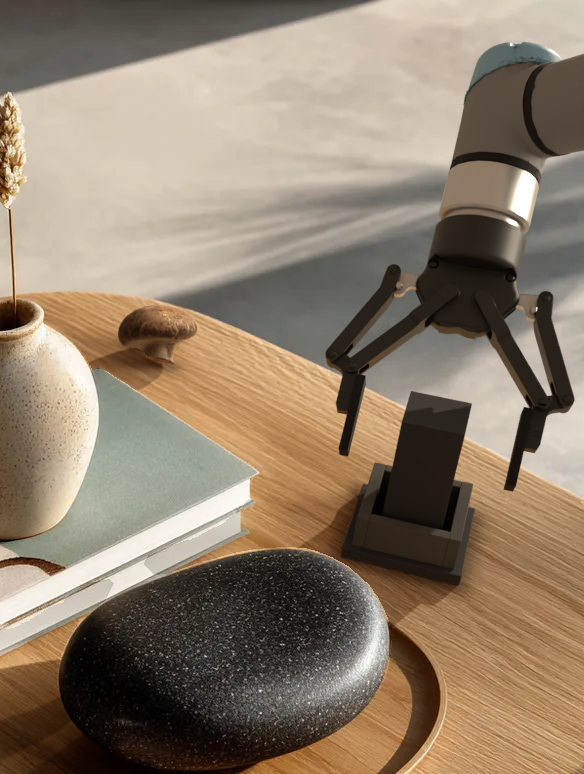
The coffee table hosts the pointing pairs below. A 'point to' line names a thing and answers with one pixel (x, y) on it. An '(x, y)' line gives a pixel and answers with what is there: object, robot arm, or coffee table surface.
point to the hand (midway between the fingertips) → (425, 470)
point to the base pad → (409, 533)
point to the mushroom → (157, 331)
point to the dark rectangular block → (426, 459)
